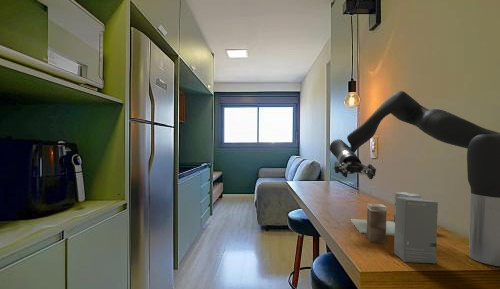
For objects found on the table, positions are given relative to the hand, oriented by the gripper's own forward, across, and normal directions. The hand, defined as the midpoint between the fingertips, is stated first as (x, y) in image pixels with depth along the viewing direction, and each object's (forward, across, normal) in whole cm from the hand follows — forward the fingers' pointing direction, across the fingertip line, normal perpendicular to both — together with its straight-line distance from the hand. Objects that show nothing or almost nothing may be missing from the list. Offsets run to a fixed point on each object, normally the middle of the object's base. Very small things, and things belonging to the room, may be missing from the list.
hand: (358, 175), depth 105 cm
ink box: (-8, +23, +21) cm, 32 cm away
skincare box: (+29, +9, +12) cm, 33 cm away
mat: (0, +9, +19) cm, 21 cm away
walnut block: (+15, +3, +15) cm, 22 cm away
